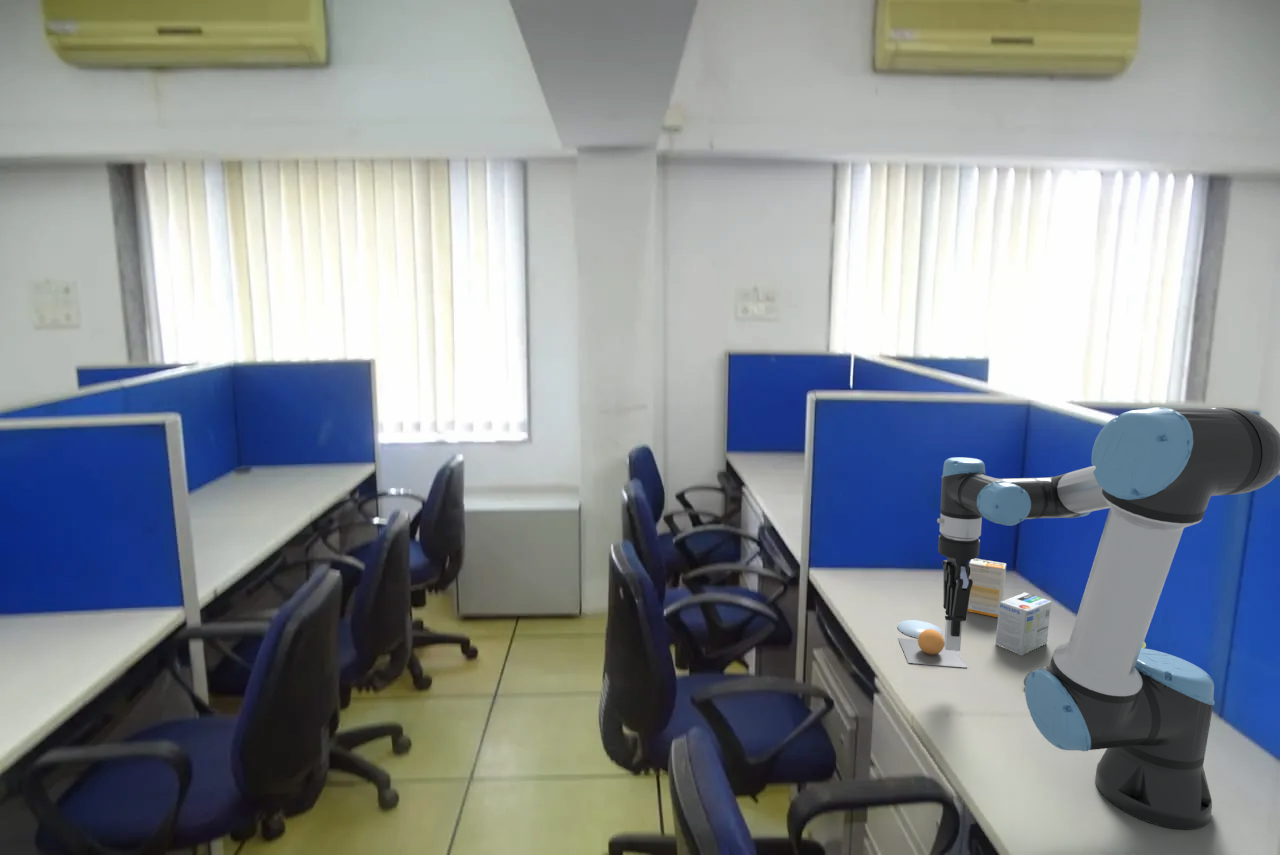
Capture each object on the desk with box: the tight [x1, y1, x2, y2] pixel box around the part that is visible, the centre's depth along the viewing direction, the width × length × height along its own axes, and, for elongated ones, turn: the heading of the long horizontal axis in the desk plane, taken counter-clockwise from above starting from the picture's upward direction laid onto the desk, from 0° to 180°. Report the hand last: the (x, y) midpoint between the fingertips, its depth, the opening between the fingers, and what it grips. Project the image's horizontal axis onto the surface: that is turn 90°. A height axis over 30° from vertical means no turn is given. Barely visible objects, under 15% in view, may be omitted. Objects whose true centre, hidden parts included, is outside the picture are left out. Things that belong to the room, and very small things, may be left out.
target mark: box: [898, 637, 968, 669], centre depth 164 cm, size 12×12×1 cm
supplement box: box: [967, 558, 1007, 618], centre depth 185 cm, size 8×5×13 cm, turn 58°
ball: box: [917, 629, 945, 655], centre depth 163 cm, size 6×6×6 cm
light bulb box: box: [995, 591, 1052, 656], centre depth 168 cm, size 11×7×11 cm, turn 123°
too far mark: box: [897, 619, 943, 639], centre depth 176 cm, size 10×10×1 cm
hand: (952, 648), depth 148 cm, fingers closed
